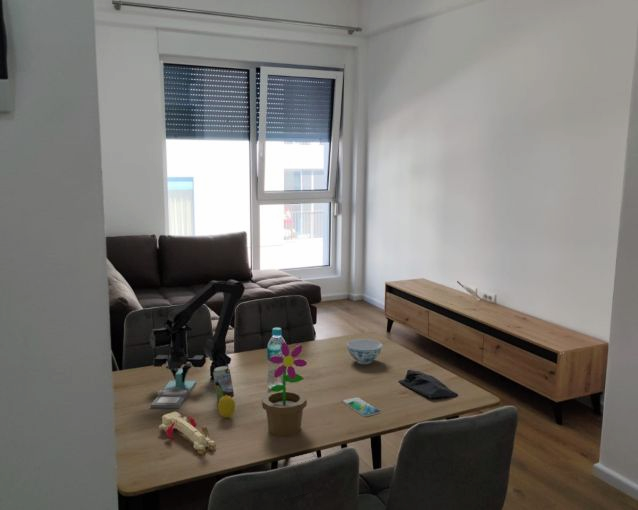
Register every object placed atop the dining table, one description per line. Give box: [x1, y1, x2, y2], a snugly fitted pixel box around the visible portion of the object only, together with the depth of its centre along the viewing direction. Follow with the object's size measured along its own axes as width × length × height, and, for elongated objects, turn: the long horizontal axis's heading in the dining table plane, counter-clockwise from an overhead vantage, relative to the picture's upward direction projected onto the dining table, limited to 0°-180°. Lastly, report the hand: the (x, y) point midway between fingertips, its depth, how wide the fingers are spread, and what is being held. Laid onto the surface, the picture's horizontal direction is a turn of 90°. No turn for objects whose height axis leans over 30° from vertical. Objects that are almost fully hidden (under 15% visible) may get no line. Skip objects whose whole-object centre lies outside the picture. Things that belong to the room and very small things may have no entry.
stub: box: [165, 368, 197, 391], centre depth 218 cm, size 10×7×6 cm
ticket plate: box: [150, 386, 192, 409], centre depth 207 cm, size 10×16×2 cm, turn 178°
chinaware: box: [346, 338, 383, 365], centre depth 246 cm, size 15×15×8 cm
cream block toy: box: [158, 411, 217, 455], centre depth 177 cm, size 10×9×25 cm
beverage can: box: [213, 366, 235, 401], centre depth 205 cm, size 6×7×12 cm
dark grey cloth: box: [398, 369, 459, 399], centre depth 217 cm, size 15×22×5 cm
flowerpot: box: [261, 342, 308, 437], centre depth 181 cm, size 14×14×30 cm
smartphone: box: [341, 396, 382, 418], centre depth 200 cm, size 7×1×15 cm
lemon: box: [217, 395, 236, 419], centre depth 191 cm, size 6×6×8 cm
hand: (180, 382), depth 218 cm, fingers closed on stub, 2 cm apart
